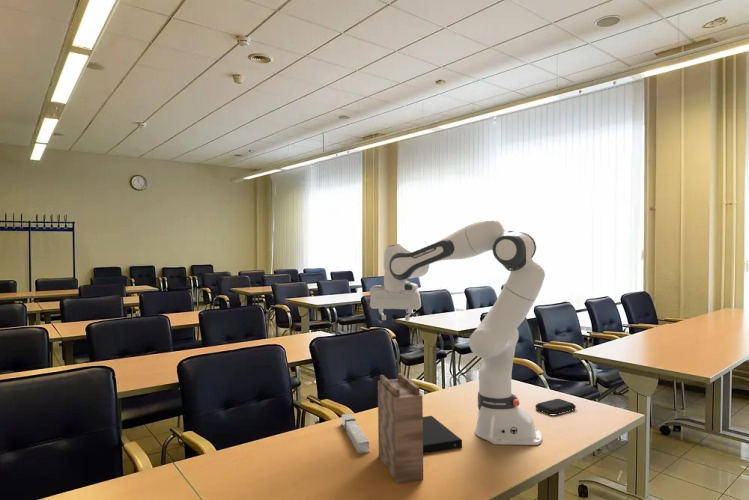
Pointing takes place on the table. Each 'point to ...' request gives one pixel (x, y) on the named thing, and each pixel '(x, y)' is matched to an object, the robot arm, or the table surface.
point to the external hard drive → (438, 436)
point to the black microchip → (555, 406)
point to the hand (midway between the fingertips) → (395, 320)
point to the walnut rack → (400, 428)
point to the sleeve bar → (355, 433)
